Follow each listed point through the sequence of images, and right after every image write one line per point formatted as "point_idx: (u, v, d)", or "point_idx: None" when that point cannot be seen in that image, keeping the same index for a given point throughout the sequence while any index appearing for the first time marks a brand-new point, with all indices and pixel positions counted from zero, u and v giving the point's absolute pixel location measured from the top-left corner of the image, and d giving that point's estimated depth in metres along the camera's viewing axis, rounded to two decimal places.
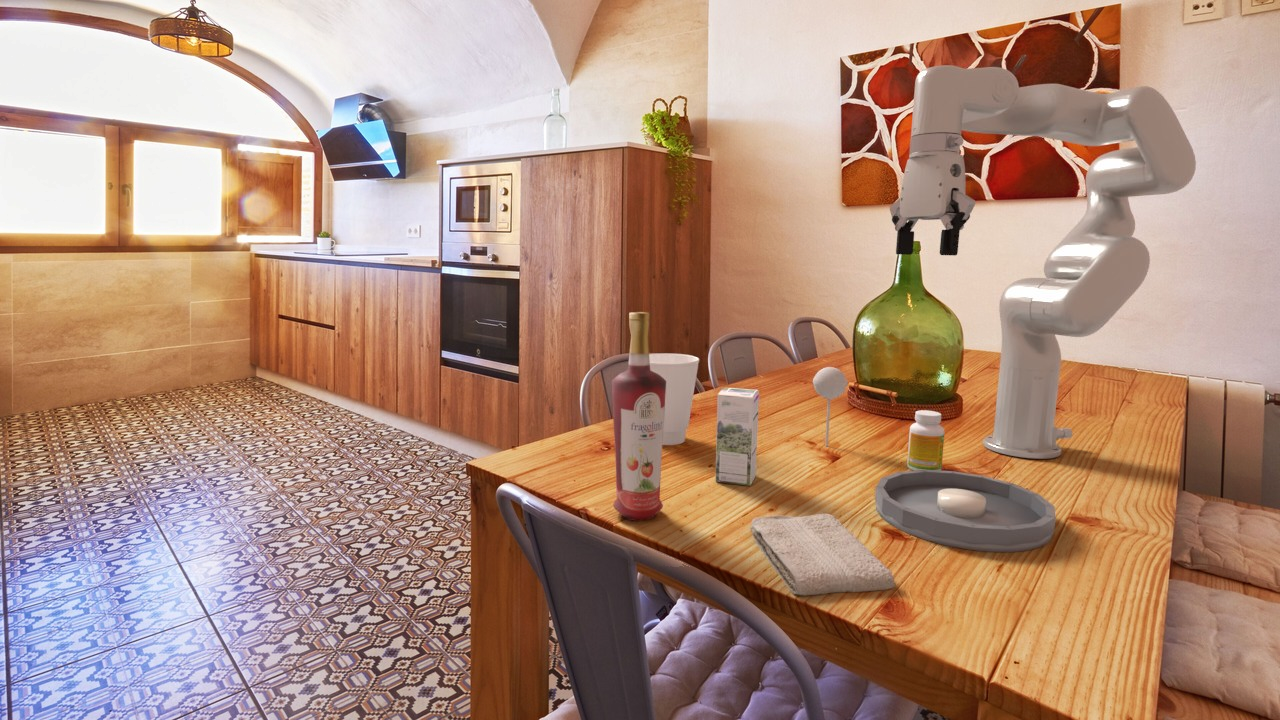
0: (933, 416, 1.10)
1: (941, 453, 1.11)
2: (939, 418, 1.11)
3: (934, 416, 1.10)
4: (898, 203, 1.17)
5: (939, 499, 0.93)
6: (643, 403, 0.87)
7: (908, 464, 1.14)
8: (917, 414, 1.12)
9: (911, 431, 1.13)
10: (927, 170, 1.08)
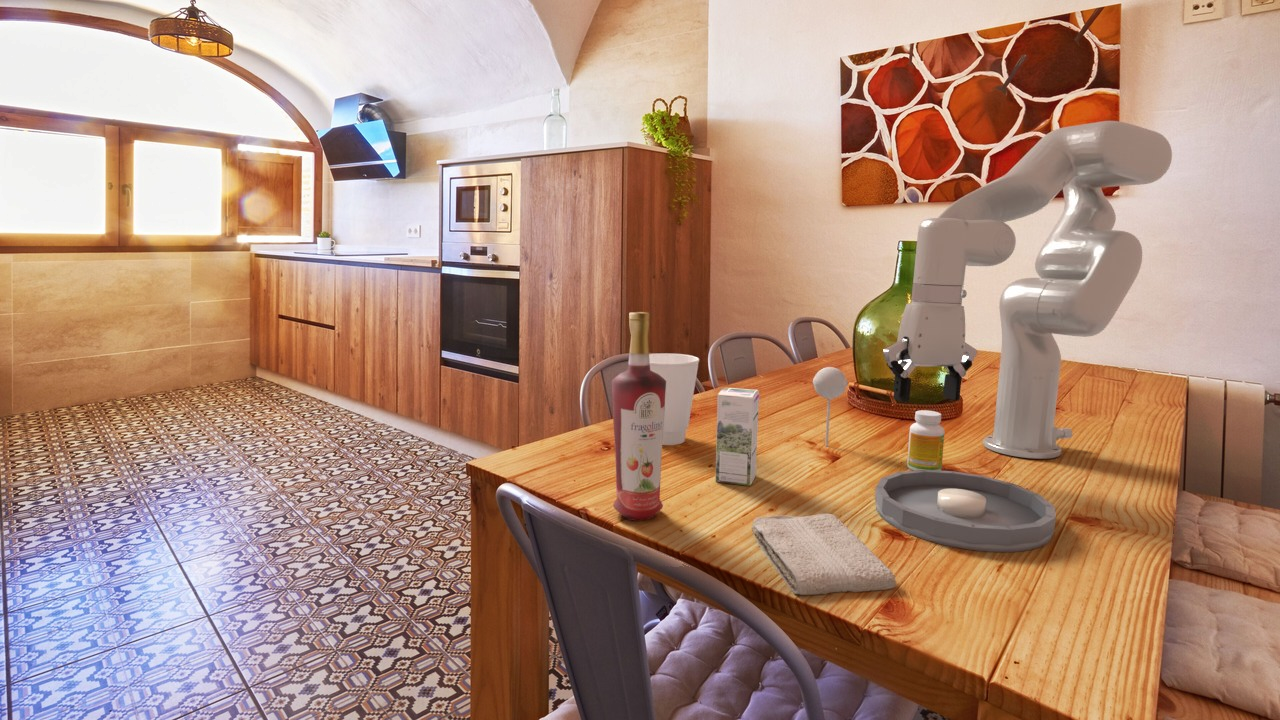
0: (933, 416, 1.10)
1: (941, 453, 1.11)
2: (939, 418, 1.11)
3: (934, 416, 1.10)
4: (899, 348, 1.08)
5: (939, 499, 0.93)
6: (643, 403, 0.87)
7: (908, 464, 1.14)
8: (917, 414, 1.12)
9: (911, 431, 1.13)
10: (952, 320, 1.07)
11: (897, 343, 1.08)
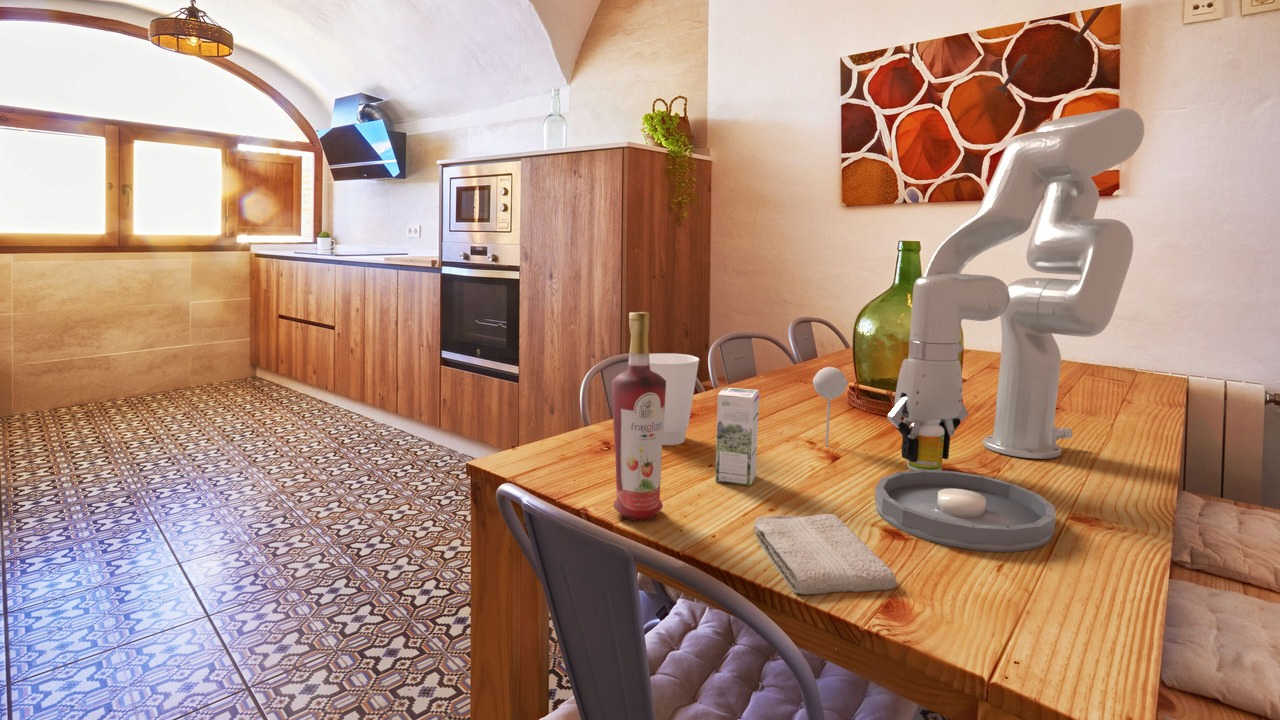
0: None
1: (941, 453, 1.11)
2: None
3: None
4: (901, 410, 1.10)
5: (939, 499, 0.93)
6: (643, 403, 0.87)
7: (908, 464, 1.14)
8: None
9: None
10: (949, 376, 1.09)
11: (897, 406, 1.10)
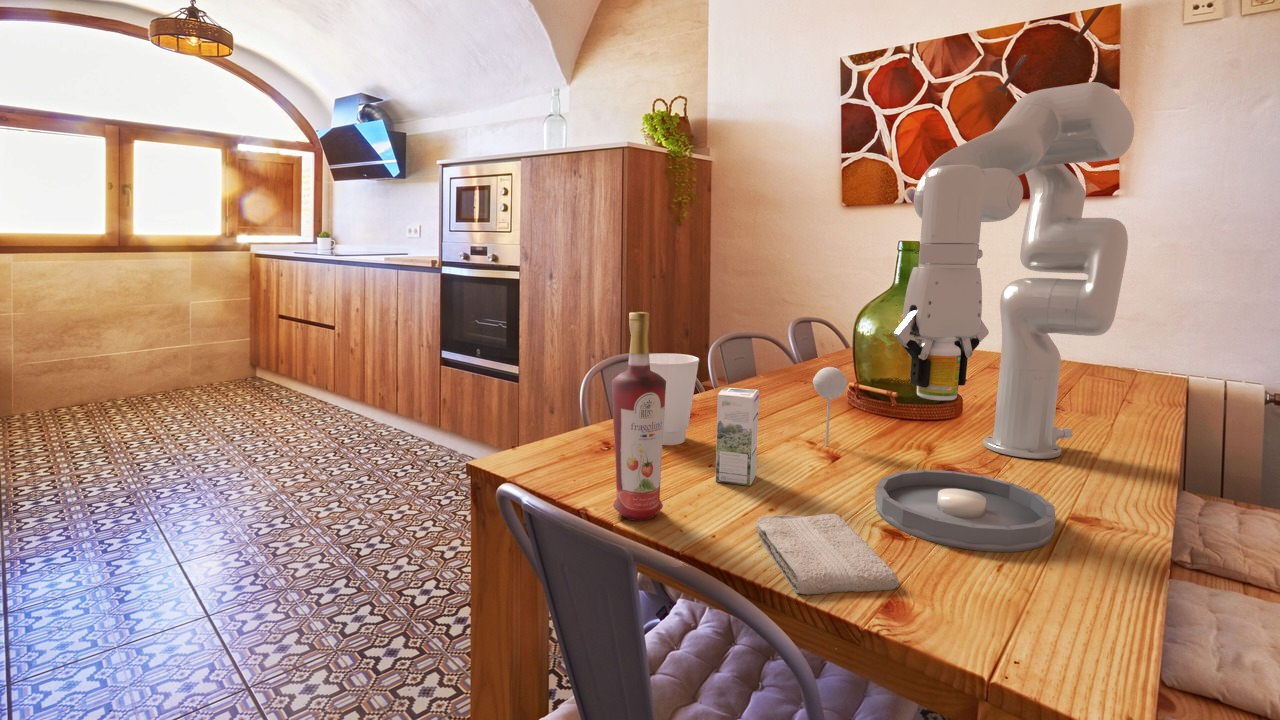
0: None
1: (957, 377, 0.95)
2: None
3: None
4: (910, 325, 0.93)
5: (939, 499, 0.93)
6: (643, 403, 0.87)
7: (918, 391, 0.97)
8: None
9: None
10: (967, 285, 0.93)
11: (906, 320, 0.94)
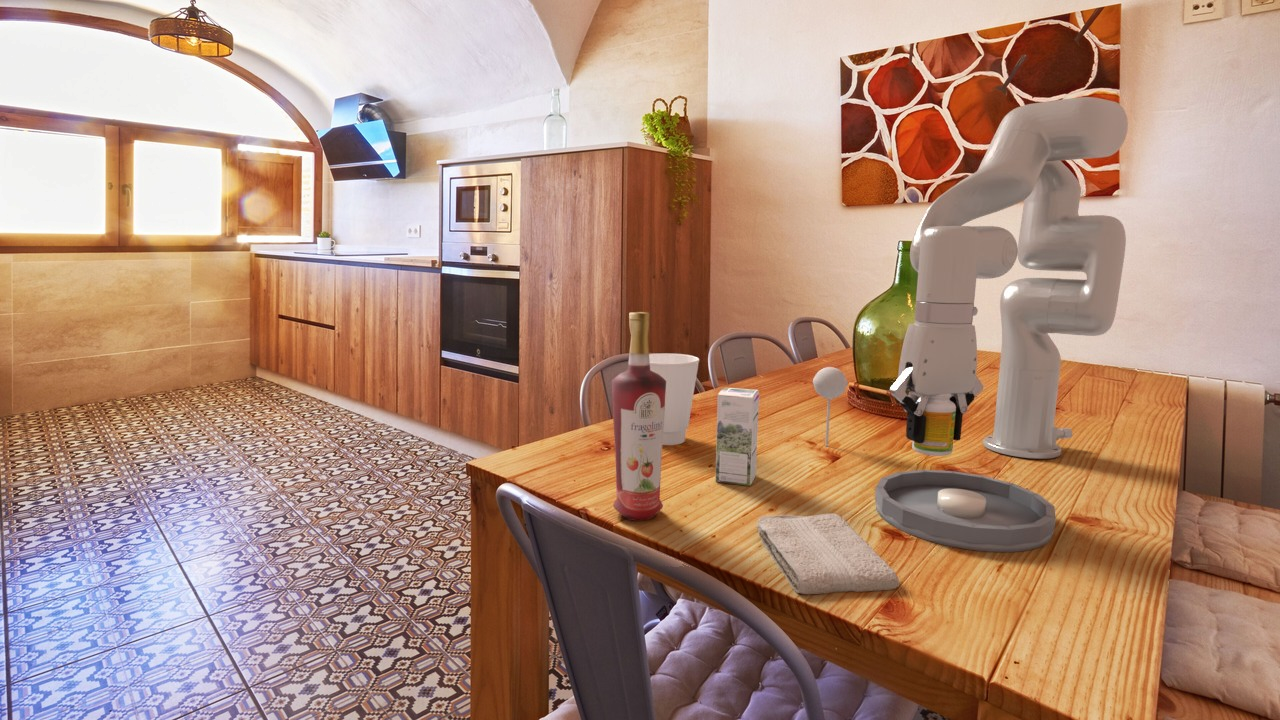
0: None
1: (952, 432, 0.96)
2: None
3: None
4: (906, 382, 0.94)
5: (939, 499, 0.93)
6: (643, 403, 0.87)
7: (913, 446, 0.98)
8: None
9: None
10: (962, 343, 0.94)
11: (902, 377, 0.95)
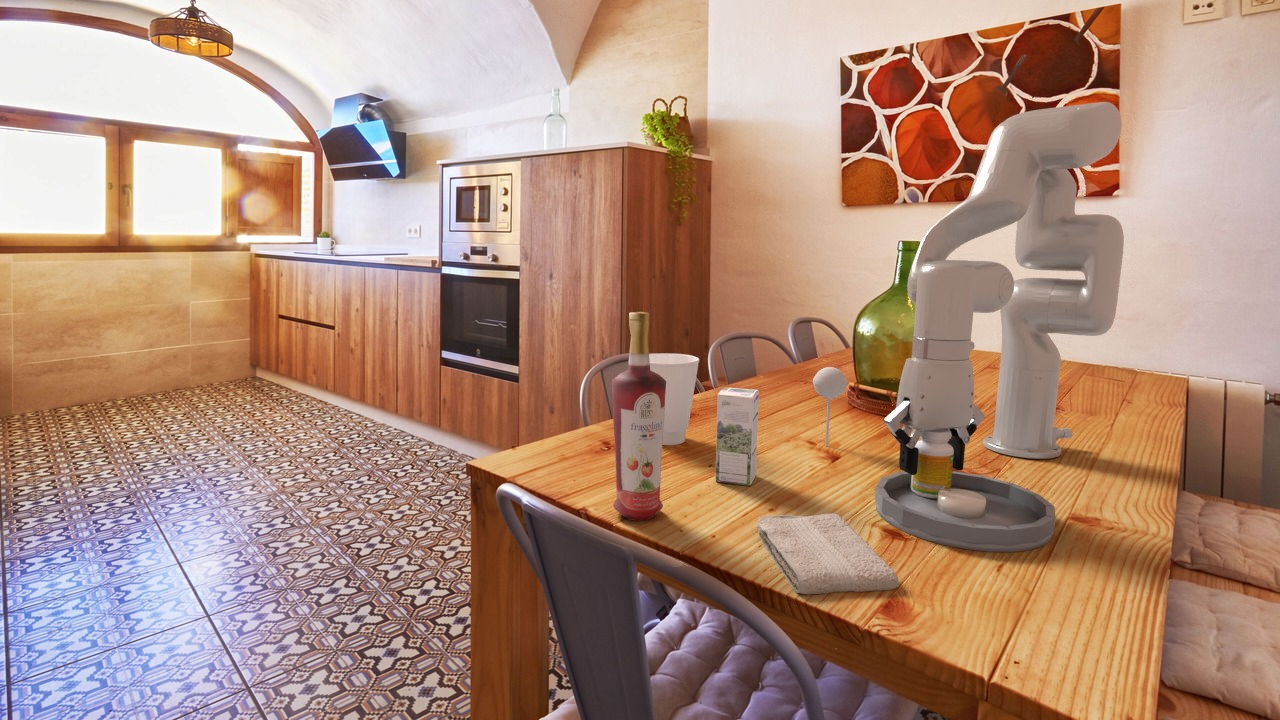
0: (941, 433, 0.96)
1: (950, 475, 0.97)
2: (947, 435, 0.97)
3: (942, 433, 0.96)
4: (901, 415, 0.95)
5: (939, 499, 0.93)
6: (643, 403, 0.87)
7: (912, 488, 0.99)
8: None
9: None
10: (959, 378, 0.94)
11: (898, 409, 0.96)
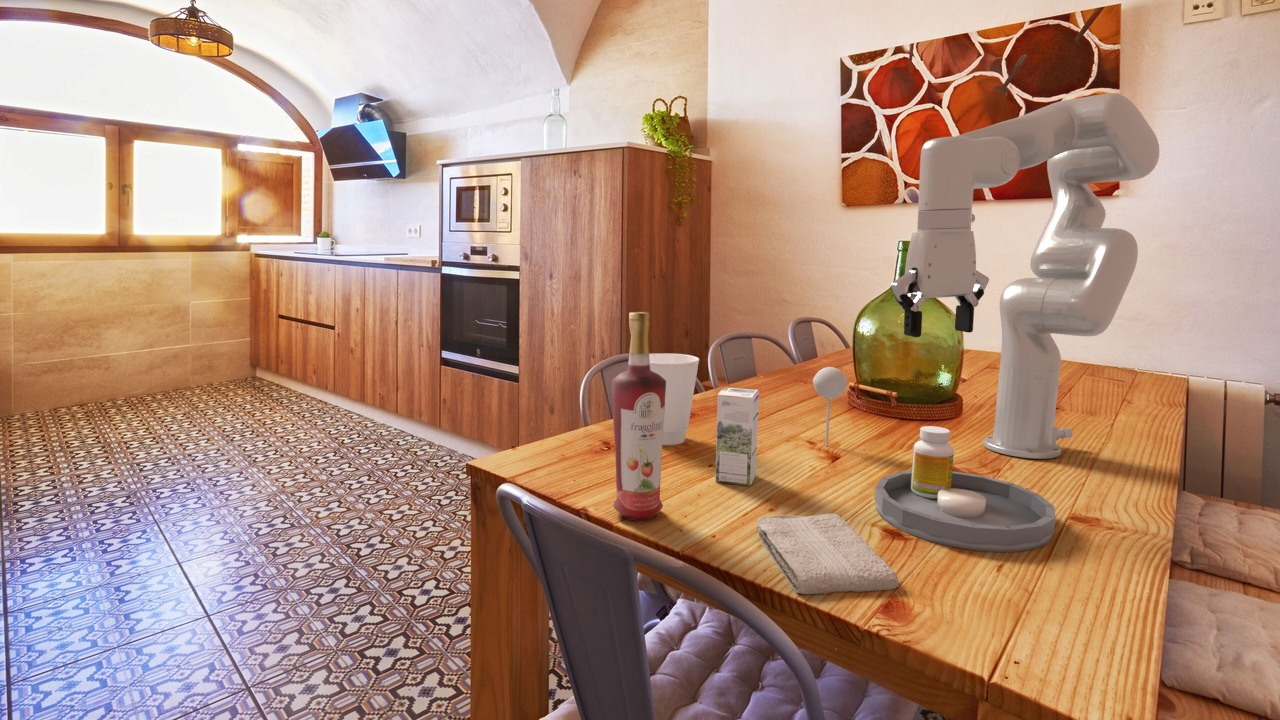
0: (941, 433, 0.96)
1: (950, 476, 0.97)
2: (948, 436, 0.96)
3: (942, 433, 0.96)
4: (908, 280, 1.02)
5: (939, 499, 0.93)
6: (643, 403, 0.87)
7: (912, 488, 0.99)
8: (922, 431, 0.98)
9: (915, 450, 0.98)
10: (962, 247, 1.01)
11: (905, 275, 1.02)
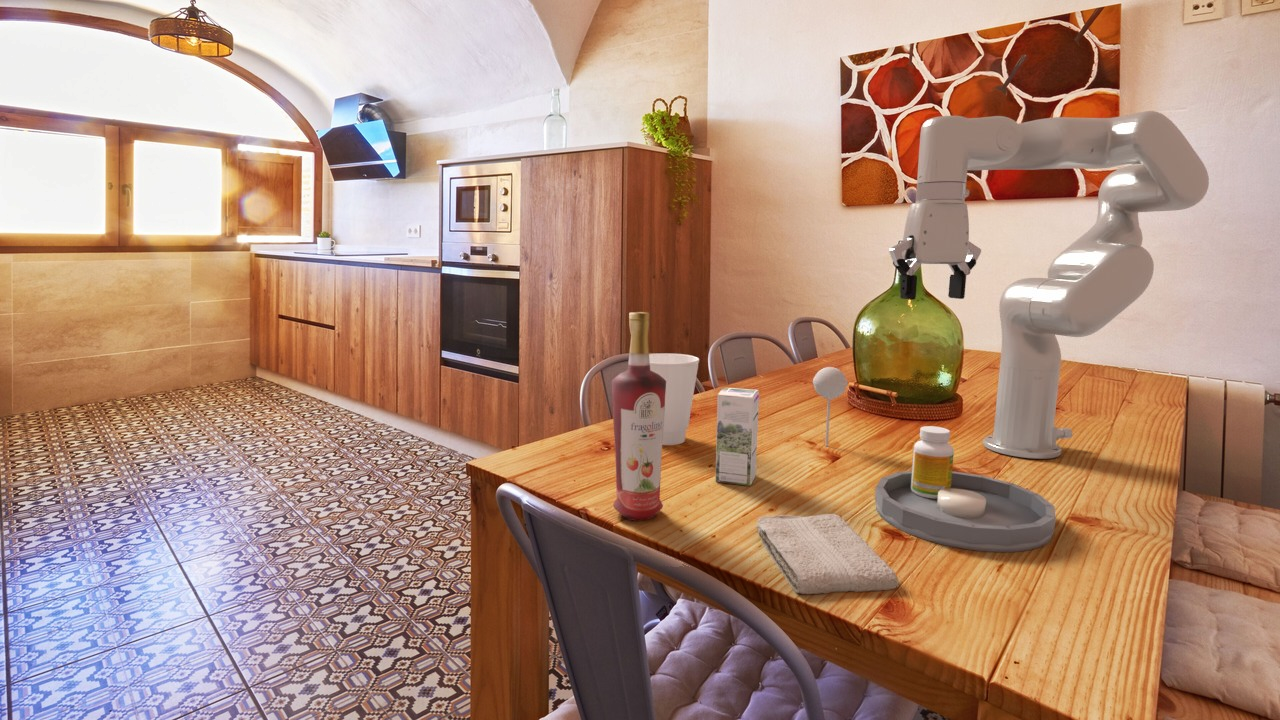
0: (941, 433, 0.96)
1: (950, 476, 0.97)
2: (948, 436, 0.96)
3: (942, 433, 0.96)
4: (905, 246, 1.11)
5: (939, 499, 0.93)
6: (643, 403, 0.87)
7: (912, 488, 0.99)
8: (922, 431, 0.98)
9: (915, 450, 0.98)
10: (956, 217, 1.10)
11: (903, 242, 1.11)
